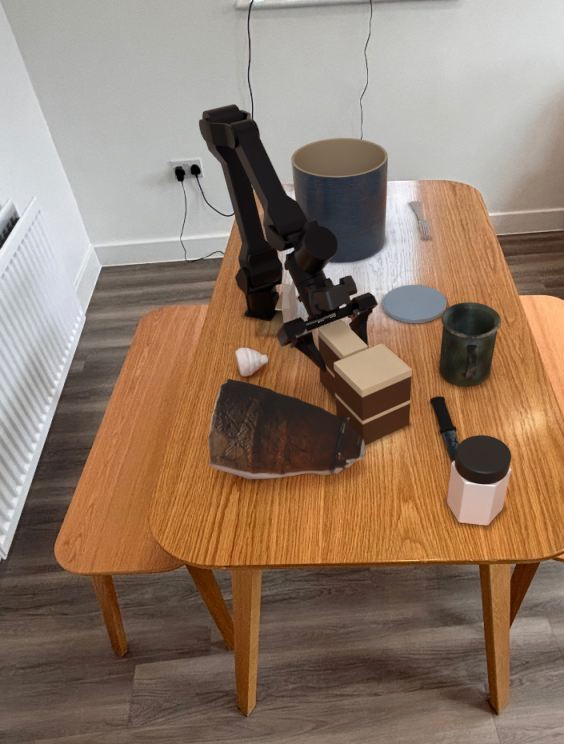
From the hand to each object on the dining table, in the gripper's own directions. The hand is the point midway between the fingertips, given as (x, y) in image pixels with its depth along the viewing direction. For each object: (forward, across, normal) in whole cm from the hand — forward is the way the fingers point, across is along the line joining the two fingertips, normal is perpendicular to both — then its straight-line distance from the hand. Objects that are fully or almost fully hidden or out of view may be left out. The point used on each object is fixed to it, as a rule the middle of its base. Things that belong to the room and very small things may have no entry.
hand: (346, 363), depth 116 cm
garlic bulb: (-7, -11, +18) cm, 22 cm away
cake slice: (+4, 0, +7) cm, 8 cm away
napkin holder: (-17, +4, +27) cm, 32 cm away
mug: (+11, +22, 0) cm, 25 cm away
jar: (+31, +2, -18) cm, 36 cm away
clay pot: (+13, -17, -1) cm, 21 cm away
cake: (+12, 0, 0) cm, 12 cm away
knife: (+20, +9, -8) cm, 23 cm away
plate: (-8, +29, +18) cm, 35 cm away
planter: (-33, +31, +42) cm, 61 cm away
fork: (-32, +54, +40) cm, 74 cm away
